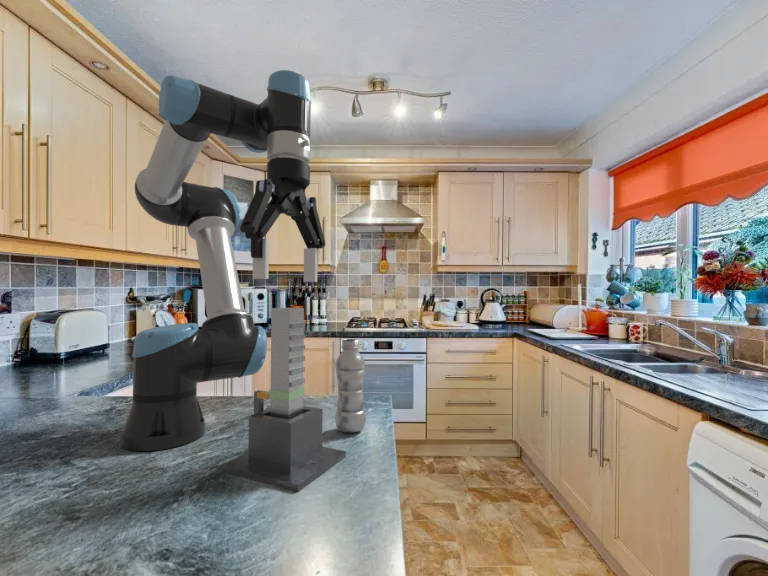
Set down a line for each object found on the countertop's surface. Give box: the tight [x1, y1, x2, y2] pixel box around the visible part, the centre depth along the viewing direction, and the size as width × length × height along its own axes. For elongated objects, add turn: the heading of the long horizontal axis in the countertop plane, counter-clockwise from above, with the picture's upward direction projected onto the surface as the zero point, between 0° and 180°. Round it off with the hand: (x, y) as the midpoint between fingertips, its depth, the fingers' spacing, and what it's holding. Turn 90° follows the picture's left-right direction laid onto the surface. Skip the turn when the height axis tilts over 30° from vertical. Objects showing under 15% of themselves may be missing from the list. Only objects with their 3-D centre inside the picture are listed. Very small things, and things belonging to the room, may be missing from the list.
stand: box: [221, 390, 347, 492], centre depth 68 cm, size 16×14×12 cm
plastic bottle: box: [334, 338, 366, 434], centre depth 84 cm, size 6×7×20 cm
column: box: [268, 307, 306, 420], centre depth 68 cm, size 5×4×20 cm
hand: (287, 280), depth 68 cm, fingers open, 13 cm apart
